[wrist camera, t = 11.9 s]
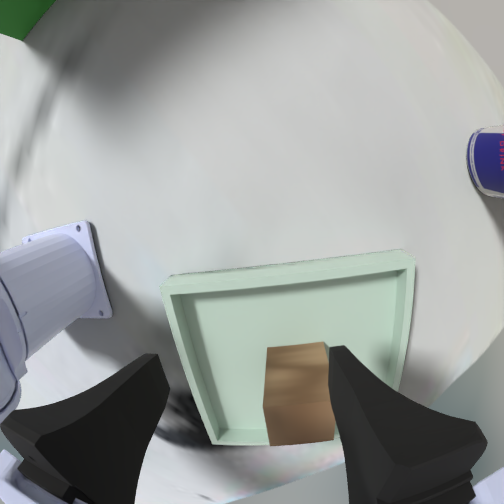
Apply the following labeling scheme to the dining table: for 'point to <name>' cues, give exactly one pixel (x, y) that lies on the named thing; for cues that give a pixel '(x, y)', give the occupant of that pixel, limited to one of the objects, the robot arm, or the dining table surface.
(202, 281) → the tray
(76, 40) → the dining table surface
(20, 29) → the hardback book
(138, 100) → the dining table surface
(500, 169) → the energy drink
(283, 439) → the walnut block
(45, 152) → the dining table surface
